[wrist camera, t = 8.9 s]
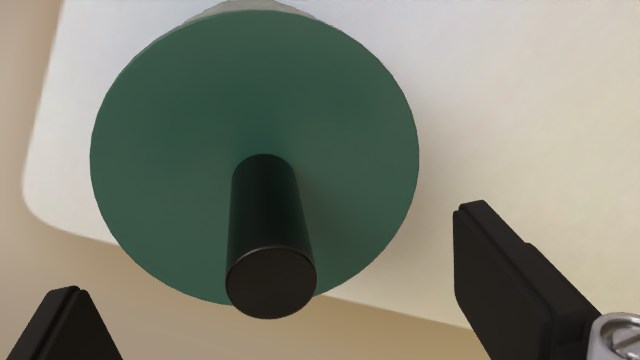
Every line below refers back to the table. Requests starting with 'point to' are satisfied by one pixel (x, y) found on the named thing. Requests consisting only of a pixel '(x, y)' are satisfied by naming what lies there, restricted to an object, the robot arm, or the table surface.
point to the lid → (254, 159)
